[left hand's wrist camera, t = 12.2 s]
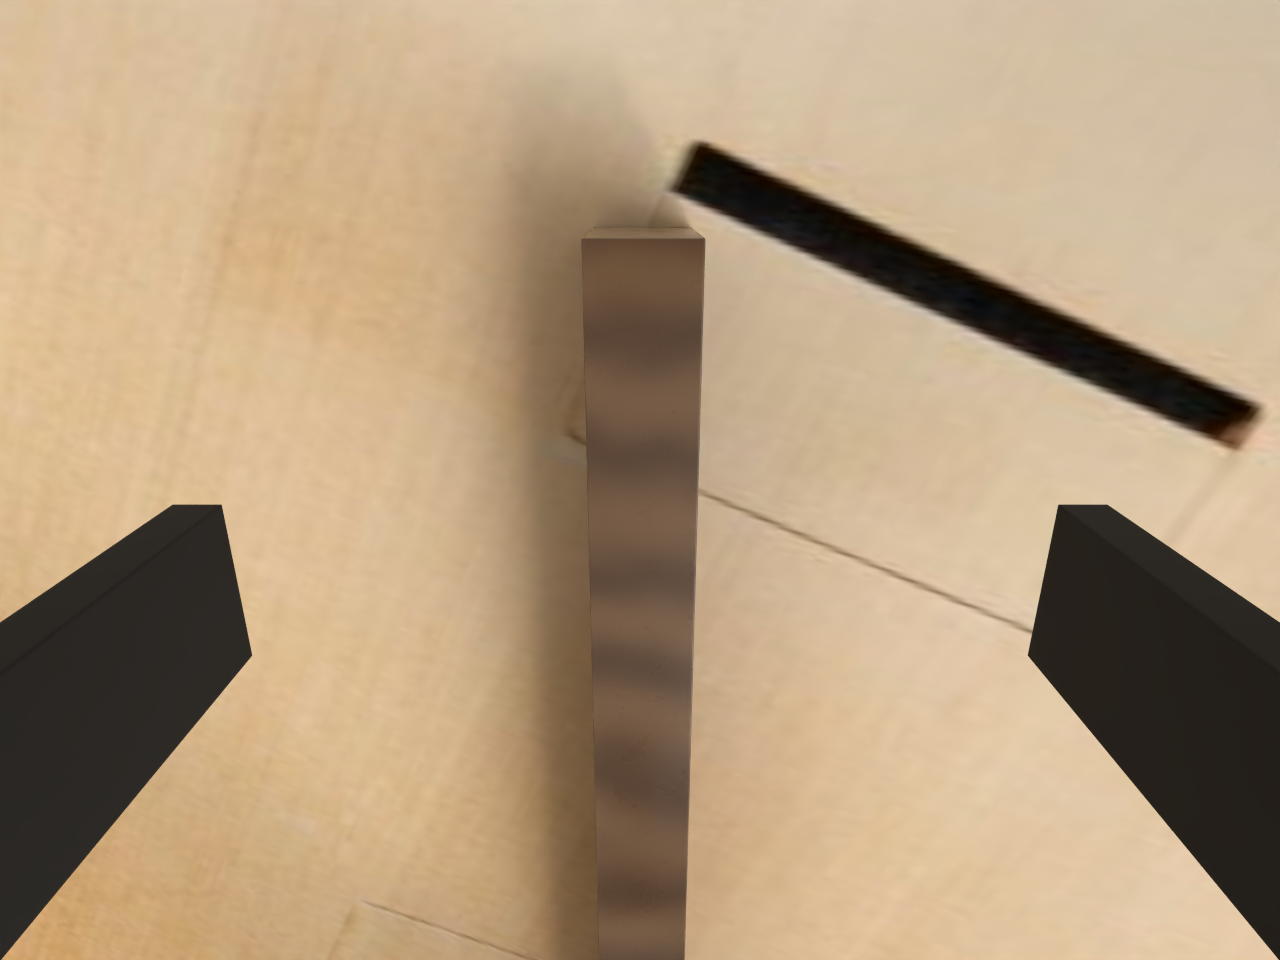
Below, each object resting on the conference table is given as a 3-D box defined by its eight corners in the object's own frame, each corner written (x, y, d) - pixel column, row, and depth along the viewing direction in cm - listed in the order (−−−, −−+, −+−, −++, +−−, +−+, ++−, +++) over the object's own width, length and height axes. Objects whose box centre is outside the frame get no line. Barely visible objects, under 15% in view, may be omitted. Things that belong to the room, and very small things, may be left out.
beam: (593, 227, 37) (581, 238, 29) (692, 227, 37) (705, 238, 29) (611, 1186, 62) (607, 1320, 55) (670, 1186, 62) (674, 1321, 55)
